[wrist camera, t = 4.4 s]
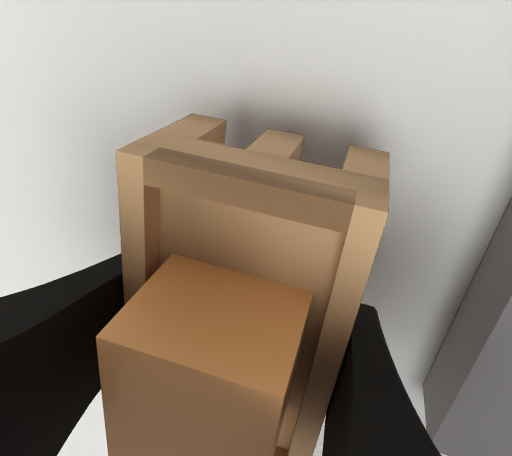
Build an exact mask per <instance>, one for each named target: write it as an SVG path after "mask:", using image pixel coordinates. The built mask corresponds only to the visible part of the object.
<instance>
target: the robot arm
mask: <svg viewBox="0 0 512 456" xmlns="http://www.w3.org/2000/svg"><path fill="white" fill-rule="evenodd" d="M123 307H124V289H123V271H122V253H121V254H119V255H117V256H114V257H112V258H110V259H107V260H105V261H102V262H100V263H98V264H95V265H93V266H90V267H88V268H86V269H83V270H81V271H78V272H75V273H73V274H70V275H67V276H65V277H62V278H59V279H57V280H54V281H51V282H49V283H46V284H43V285H40V286H37V287H34V288H31V289H28V290H24V291H21V292H17V293H14V294H11V295H7V296H4V297H0V456H57V454H58V453H59V451H60V450H61V448H62V446H63V445H64V443H65V441H66V440H67V438H68V437H69V435H70V433H71V432H72V430H73V429H74V427H75V426H76V424H77V423H78V421H79V420H80V418H81V417H82V415H83V414H84V412H85V410H86V409H87V407H88V406H89V404H90V403H91V402H92V400H93V399H94V397H95V396H96V395H97V393H98V392H99V391H100V389H101V382H100V372H99V363H98V353H97V344H96V336H97V335H98V334H99V333H100V332H101V330H102V329H103V328H104V327H105V326H106V325H107V324H108V323H109V322H110V321H111V320H112V319H113V317H114V316H115V315H116V314H117V313H118V312H119V311H120V310H121V309H122V308H123ZM322 456H441V454H440V453H439V451H438V449H437V448H436V446H435V445H434V443H433V441H432V439H431V438H430V436H429V434H428V432H427V431H426V429H425V427H424V425H423V424H422V422H421V420H420V418H419V416H418V414H417V412H416V410H415V408H414V407H413V405H412V403H411V400H410V398H409V396H408V394H407V392H406V390H405V388H404V386H403V383H402V381H401V379H400V377H399V374H398V372H397V369H396V367H395V365H394V362H393V360H392V357H391V355H390V352H389V349H388V347H387V344H386V341H385V338H384V335H383V332H382V328H381V325H380V321H379V318H378V313H377V311H376V309H375V307H372V306H369V305H365V304H362V303H360V306H359V309H358V313H357V316H356V319H355V322H354V325H353V329H352V332H351V335H350V338H349V341H348V344H347V348H346V351H345V354H344V357H343V360H342V364H341V367H340V370H339V373H338V376H337V379H336V383H335V386H334V389H333V392H332V395H331V398H330V402H329V405H328V408H327V411H326V419H325V430H324V442H323V453H322Z"/></svg>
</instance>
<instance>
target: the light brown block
mask: <svg viewBox="0 0 512 456" xmlns="http://www.w3.org/2000/svg"><path fill="white" fill-rule="evenodd" d="M312 297H313V292H311V291H307V290H303V289H300V288H296V287H292V286H289V285H285V284H281V283H278V282H274V281H270V280H267V279H263V278H259V277H256V276H252V275H248V274H245V273H241V272H237V271H234V270H230V269H226V268H223V267H219V266H215V265H212V264H208V263H204V262H201V261H197V260H193V259H190V258H186V257H182V256H179V255H175V254H172V255H171V256H170V257H169V258H168V259H167V260H166V261H165V262H164V263H163V264H162V265H161V267H160V268H159V269H158V270H157V271H156V272H155V273H154V274H153V275H152V276H151V277H150V278H149V280H148V281H147V282H146V283H145V284H144V285H143V286H142V287H141V288H140V289H139V290H138V291H137V293H136V294H135V295H134V296H133V297H132V298H131V299H130V300H129V301H128V302H127V303H126V304H125V306H124V307H123V308H122V309H121V310H120V311H119V312H118V313H117V314H116V315H115V316H114V317H113V319H112V320H111V321H110V322H109V323H108V324H107V325H106V326H105V327H104V328H103V329H102V330H101V332H100V333H99V334H98V335H97V336H96V344H97V353H98V363H99V372H100V382H101V391H102V400H103V410H104V419H105V429H106V438H107V448H108V456H274V452H275V448H276V445H277V441H278V437H279V433H280V430H281V426H282V422H283V418H284V415H285V411H286V407H287V403H288V399H289V394H290V390H291V386H292V382H293V377H294V373H295V369H296V365H297V360H298V356H299V352H300V348H301V343H302V339H303V335H304V331H305V326H306V322H307V318H308V314H309V309H310V305H311V301H312Z"/></svg>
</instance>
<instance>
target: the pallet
mask: <svg viewBox="0 0 512 456" xmlns="http://www.w3.org/2000/svg"><path fill="white" fill-rule="evenodd" d="M225 130H226V120H223V119H218V118H213V117H208V116H203V115H198V114H191V115H189V116H186V117H184V118H182V119H180V120H178V121H176V122H174V123H172V124H170V125H168V126H166V127H164V128H162V129H160V130H158V131H156V132H154V133H152V134H150V135H147V136H145V137H143V138H141V139H139V140H137V141H135V142H133V143H131V144H129V145H127V146H125V147H123V148H121V149H119V150H117V151H116V161H117V179H118V197H119V216H120V234H121V252H122V271H123V289H124V306H125V304H126V303H127V302H128V301H129V300H130V299H131V298H132V297H133V296H134V295H135V294H136V293H137V291H138V290H139V289H140V288H141V287H142V286H143V285H144V284H145V283H146V282H147V281H148V280H149V278H150V277H151V276H152V275H153V274H154V273H155V272H156V271H157V270H158V269H159V268H160V267H161V265H162V264H163V263H164V262H165V261H166V260H167V259H168V258H169V257H170V256H171V255H172V254H175V255H179V256H182V257H186V258H190V259H193V260H197V261H201V262H204V263H208V264H212V265H215V266H219V267H223V268H226V269H230V270H234V271H237V272H241V273H245V274H248V275H252V276H256V277H259V278H263V279H267V280H270V281H274V282H278V283H281V284H285V285H289V286H292V287H296V288H300V289H303V290H307V291H311V292H313V297H312V301H311V305H310V309H309V314H308V318H307V322H306V326H305V331H304V335H303V339H302V343H301V348H300V352H299V356H298V360H297V365H296V369H295V373H294V377H293V382H292V386H291V390H290V394H289V399H288V403H287V407H286V411H285V415H284V418H283V422H282V426H281V430H280V433H279V437H278V441H277V445H276V448H275V452H274V456H313V452H314V449H315V446H316V443H317V440H318V437H319V433H320V430H321V427H322V424H323V421H324V418H325V414H326V411H327V408H328V405H329V402H330V398H331V395H332V392H333V389H334V386H335V383H336V379H337V376H338V373H339V370H340V367H341V364H342V360H343V357H344V354H345V351H346V348H347V344H348V341H349V338H350V335H351V332H352V329H353V325H354V322H355V319H356V316H357V313H358V309H359V306H360V303H361V300H362V297H363V294H364V290H365V287H366V284H367V281H368V278H369V275H370V271H371V268H372V265H373V262H374V259H375V255H376V252H377V249H378V246H379V243H380V240H381V236H382V233H383V230H384V227H385V224H386V220H387V217H388V214H389V153H388V152H383V151H378V150H373V149H368V148H363V147H358V146H353V145H350V146H349V150H348V153H347V156H346V159H345V162H344V165H343V168H342V170H341V169H336V168H331V167H327V166H322V165H317V164H313V163H308V162H303V161H300V159H301V153H302V147H303V142H304V136H303V135H298V134H293V133H288V132H283V131H278V130H273V129H267V130H266V131H265V132H264V133H263V134H262V135H261V136H260V137H258V138H257V139H256V140H255V141H254V142H253V143H252V144H251V145H250V146H249V147H247V148H246V149H242V148H237V147H232V146H228V145H224V142H225Z"/></svg>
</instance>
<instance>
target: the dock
mask: <svg viewBox="0 0 512 456" xmlns="http://www.w3.org/2000/svg"><path fill="white" fill-rule="evenodd" d="M423 392H424V404H425V416H426V428H427V432H428V434H429V436H430V438H431V439H432V441H433V443H434V445H435V446H436V448H437V449H438V451H439V452H440V453H443V454H446V455H449V456H512V198H511V200H510V202H509V205H508V207H507V209H506V211H505V213H504V215H503V217H502V219H501V221H500V224H499V226H498V228H497V230H496V232H495V234H494V236H493V238H492V240H491V243H490V245H489V247H488V249H487V251H486V253H485V255H484V257H483V259H482V262H481V264H480V266H479V268H478V270H477V272H476V274H475V276H474V278H473V281H472V283H471V285H470V287H469V289H468V291H467V293H466V295H465V297H464V299H463V302H462V304H461V306H460V308H459V310H458V312H457V314H456V316H455V318H454V321H453V323H452V325H451V327H450V329H449V331H448V333H447V335H446V337H445V340H444V342H443V344H442V346H441V348H440V350H439V352H438V354H437V356H436V359H435V361H434V363H433V365H432V367H431V369H430V371H429V373H428V375H427V378H426V380H425V382H424V384H423Z"/></svg>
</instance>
